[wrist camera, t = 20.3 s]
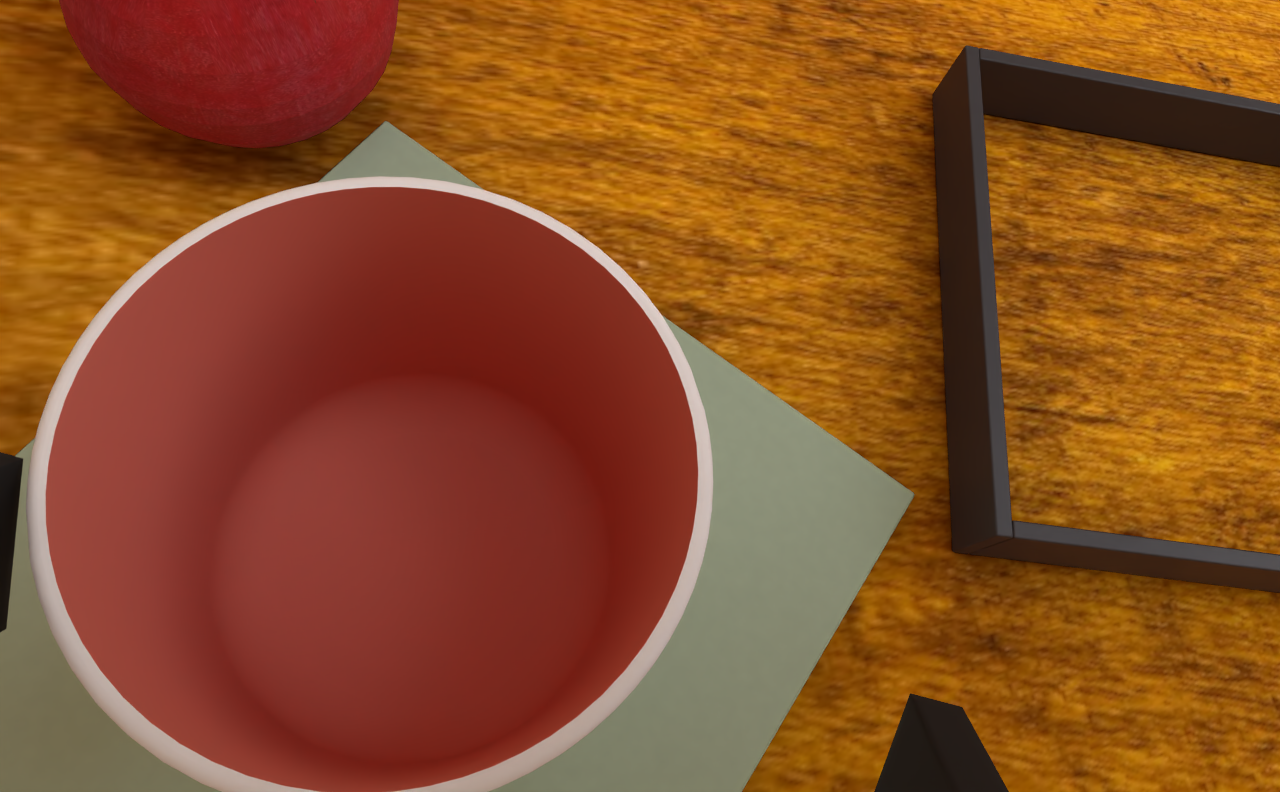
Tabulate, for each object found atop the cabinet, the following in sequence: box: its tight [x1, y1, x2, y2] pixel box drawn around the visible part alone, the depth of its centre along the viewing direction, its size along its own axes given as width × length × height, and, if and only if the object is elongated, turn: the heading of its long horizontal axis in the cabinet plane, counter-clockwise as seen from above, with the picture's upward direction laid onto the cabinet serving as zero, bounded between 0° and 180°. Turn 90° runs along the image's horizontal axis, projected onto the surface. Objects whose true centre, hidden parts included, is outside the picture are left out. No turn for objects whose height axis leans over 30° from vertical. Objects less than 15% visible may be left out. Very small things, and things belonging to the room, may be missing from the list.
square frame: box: [933, 46, 1280, 593], centre depth 28 cm, size 17×17×2 cm
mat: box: [0, 121, 914, 792], centre depth 23 cm, size 20×20×1 cm
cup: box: [26, 176, 713, 792], centre depth 18 cm, size 10×10×10 cm
